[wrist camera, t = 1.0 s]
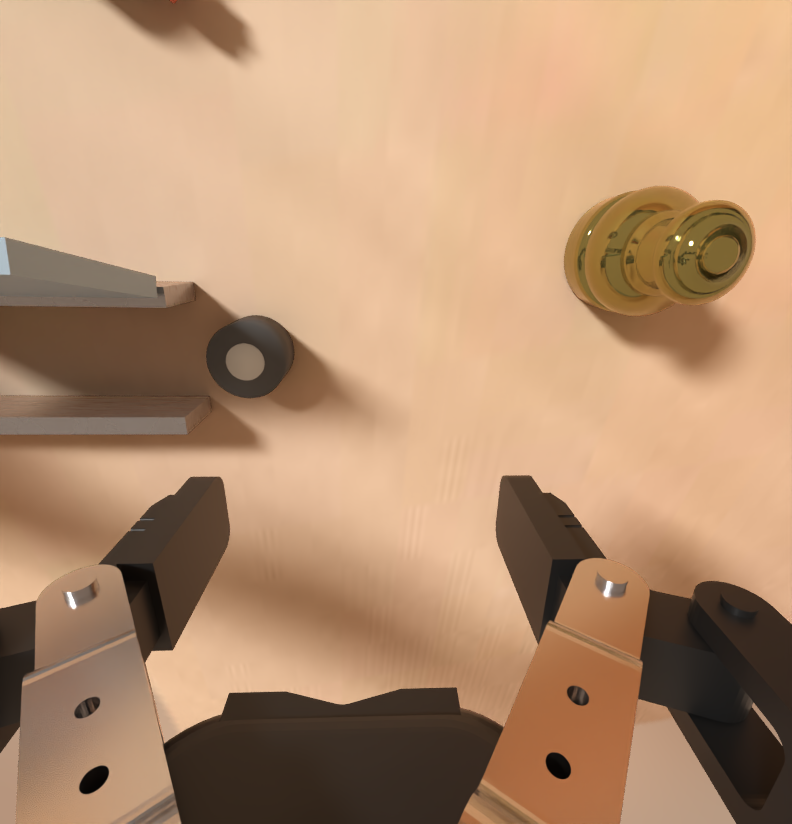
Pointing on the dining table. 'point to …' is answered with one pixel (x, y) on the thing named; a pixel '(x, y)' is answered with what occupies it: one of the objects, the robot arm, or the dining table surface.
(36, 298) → the grey rectangular box
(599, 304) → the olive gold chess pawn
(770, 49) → the dining table surface
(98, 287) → the cover
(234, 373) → the dark grey tape roll
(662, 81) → the dining table surface
